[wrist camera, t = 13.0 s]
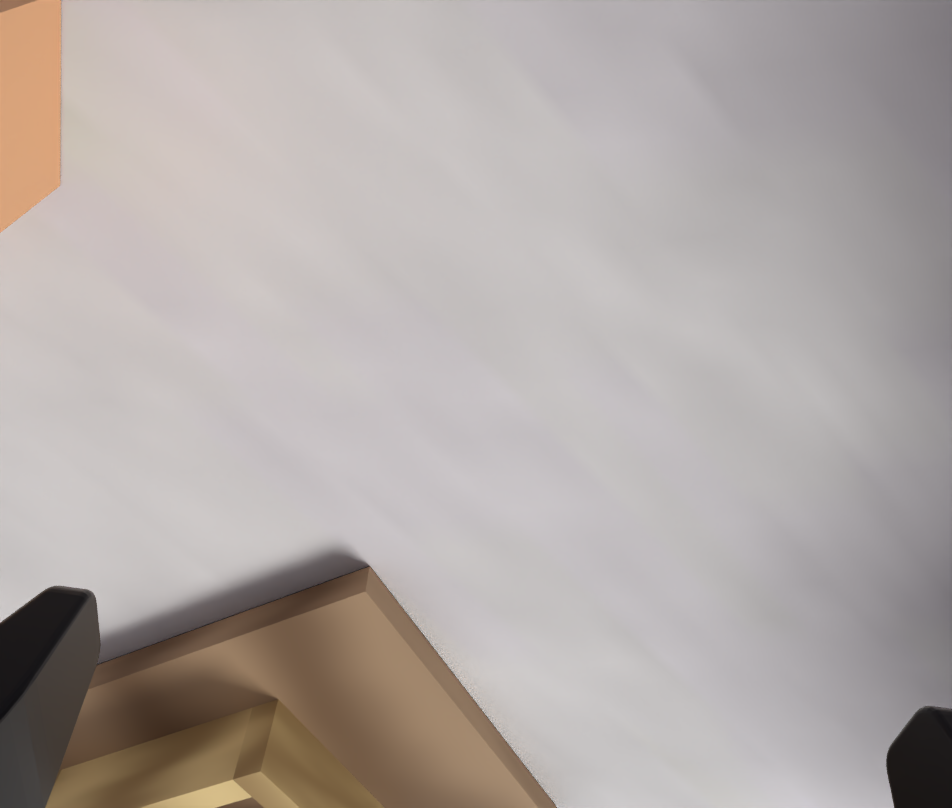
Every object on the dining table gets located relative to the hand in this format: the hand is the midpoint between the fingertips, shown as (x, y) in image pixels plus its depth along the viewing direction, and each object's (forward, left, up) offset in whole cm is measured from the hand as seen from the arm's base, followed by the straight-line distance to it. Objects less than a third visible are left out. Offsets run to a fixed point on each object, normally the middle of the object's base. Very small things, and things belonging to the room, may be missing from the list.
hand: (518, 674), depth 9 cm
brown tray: (+21, -9, -12) cm, 26 cm away
